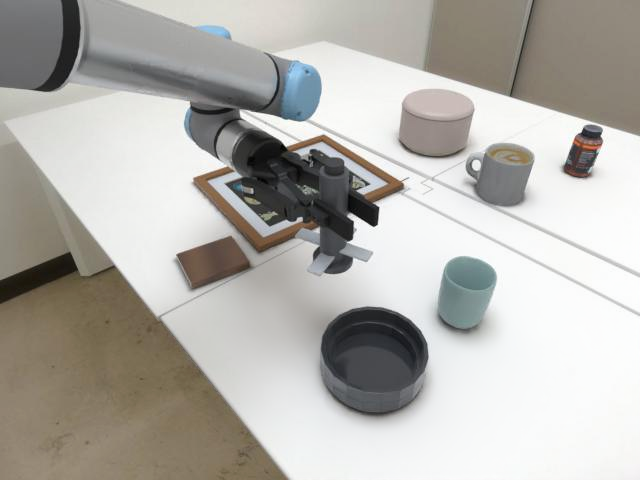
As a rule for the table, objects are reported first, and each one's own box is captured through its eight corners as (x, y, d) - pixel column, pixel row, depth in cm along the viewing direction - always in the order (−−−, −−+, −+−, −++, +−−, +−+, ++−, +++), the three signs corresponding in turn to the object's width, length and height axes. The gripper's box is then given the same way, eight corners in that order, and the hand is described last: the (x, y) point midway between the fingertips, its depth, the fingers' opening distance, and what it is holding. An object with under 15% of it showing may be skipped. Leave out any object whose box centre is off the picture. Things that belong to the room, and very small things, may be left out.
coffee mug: (529, 192, 103) (543, 152, 97) (509, 211, 97) (522, 170, 91) (476, 171, 110) (485, 133, 104) (454, 188, 105) (462, 148, 98)
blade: (351, 299, 58) (356, 197, 48) (278, 271, 62) (269, 171, 52) (384, 250, 66) (395, 152, 56) (317, 228, 70) (316, 133, 60)
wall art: (404, 183, 104) (259, 246, 87) (403, 188, 105) (259, 252, 88) (323, 133, 123) (192, 177, 106) (323, 138, 124) (193, 183, 107)
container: (384, 137, 125) (388, 95, 117) (435, 122, 131) (442, 82, 124) (427, 165, 112) (434, 121, 105) (481, 148, 119) (491, 105, 112)
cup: (426, 322, 74) (435, 277, 68) (445, 293, 79) (455, 249, 72) (472, 344, 70) (487, 299, 64) (489, 312, 75) (504, 268, 69)
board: (192, 289, 80) (190, 283, 79) (177, 260, 86) (175, 254, 85) (250, 267, 84) (249, 261, 83) (232, 241, 90) (231, 235, 89)
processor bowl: (358, 436, 59) (360, 413, 56) (303, 354, 69) (302, 331, 66) (444, 385, 65) (451, 361, 61) (382, 316, 75) (385, 293, 71)
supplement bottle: (595, 176, 108) (614, 132, 101) (573, 179, 107) (590, 135, 100) (579, 164, 113) (596, 121, 105) (557, 166, 112) (573, 123, 105)
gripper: (297, 157, 75) (406, 221, 61) (208, 195, 67) (311, 279, 53) (295, 114, 70) (413, 173, 57) (199, 148, 62) (310, 227, 48)
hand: (363, 224), depth 55 cm, fingers closed on blade, 4 cm apart
